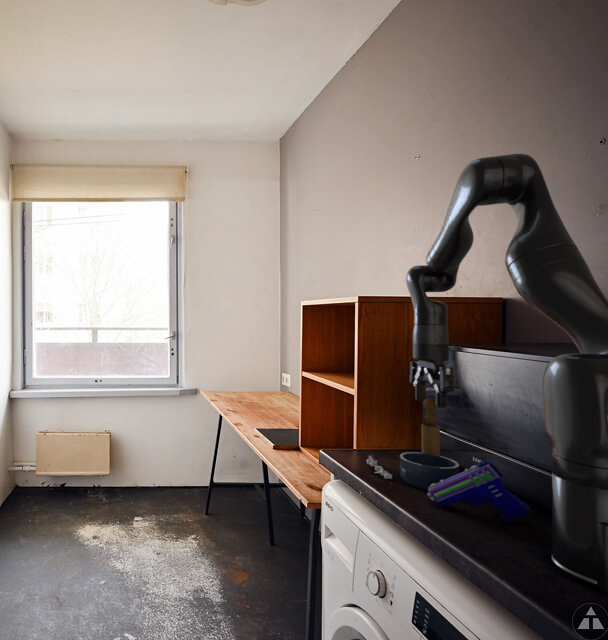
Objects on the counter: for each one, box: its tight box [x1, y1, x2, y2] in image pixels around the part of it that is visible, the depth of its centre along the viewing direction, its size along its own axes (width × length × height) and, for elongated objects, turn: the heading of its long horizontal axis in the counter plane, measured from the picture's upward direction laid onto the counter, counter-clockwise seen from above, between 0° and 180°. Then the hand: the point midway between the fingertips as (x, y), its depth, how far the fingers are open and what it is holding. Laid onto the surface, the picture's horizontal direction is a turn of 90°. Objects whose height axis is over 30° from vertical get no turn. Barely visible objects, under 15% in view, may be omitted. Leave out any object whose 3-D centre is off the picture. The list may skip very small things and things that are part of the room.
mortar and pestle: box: [420, 397, 441, 456], centre depth 107 cm, size 7×6×18 cm
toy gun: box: [427, 459, 532, 523], centre depth 82 cm, size 4×13×10 cm
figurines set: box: [366, 454, 393, 480], centre depth 105 cm, size 12×3×3 cm, turn 170°
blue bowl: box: [399, 451, 460, 491], centre depth 97 cm, size 11×11×6 cm
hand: (430, 404), depth 107 cm, fingers open, 8 cm apart
